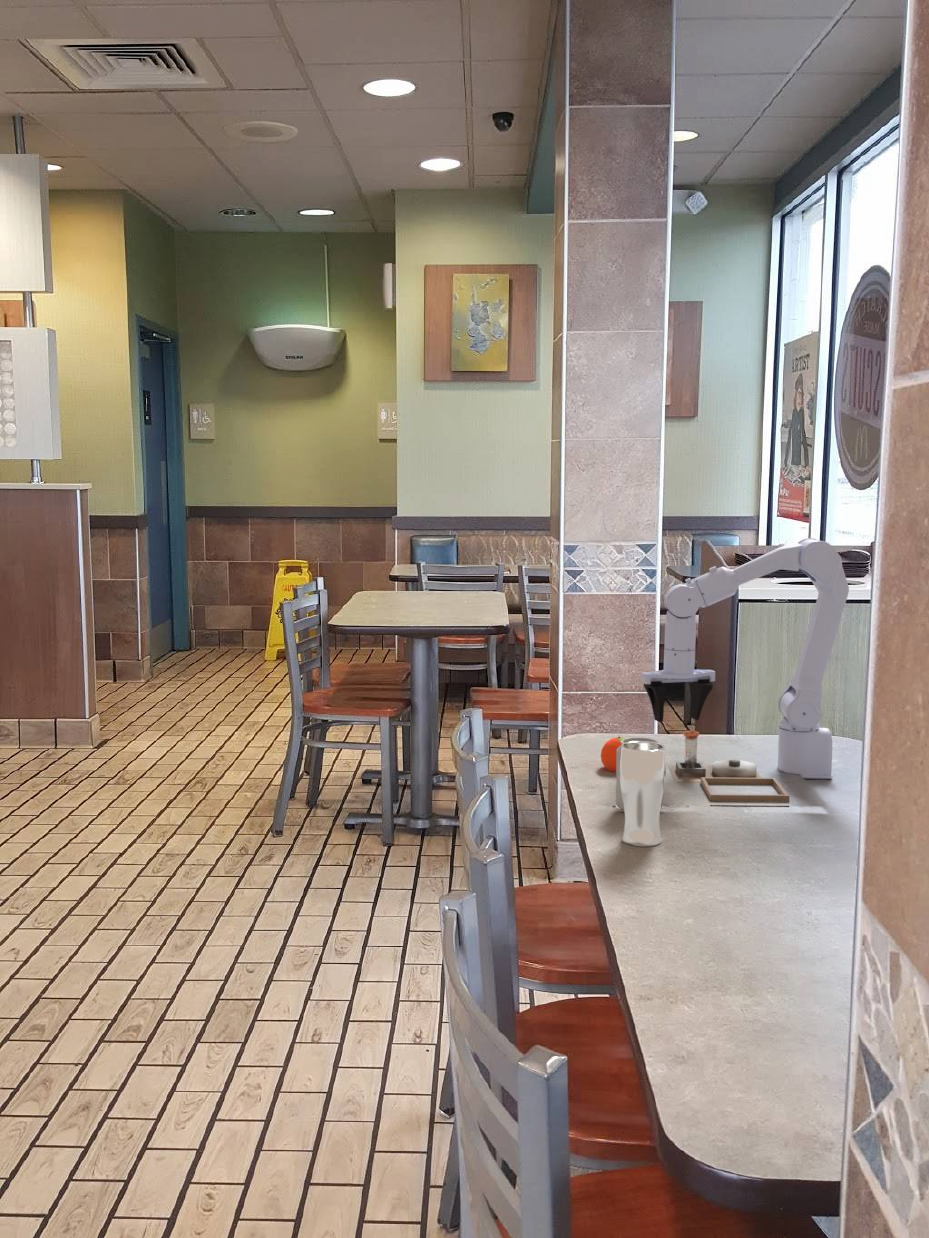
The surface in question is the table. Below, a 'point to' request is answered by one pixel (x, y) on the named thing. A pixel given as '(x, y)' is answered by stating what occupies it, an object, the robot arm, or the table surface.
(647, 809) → the beer glass
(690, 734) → the lock pin
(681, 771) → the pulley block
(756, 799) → the tray
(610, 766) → the clementine
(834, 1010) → the table surface
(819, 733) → the robot arm
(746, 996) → the table surface
